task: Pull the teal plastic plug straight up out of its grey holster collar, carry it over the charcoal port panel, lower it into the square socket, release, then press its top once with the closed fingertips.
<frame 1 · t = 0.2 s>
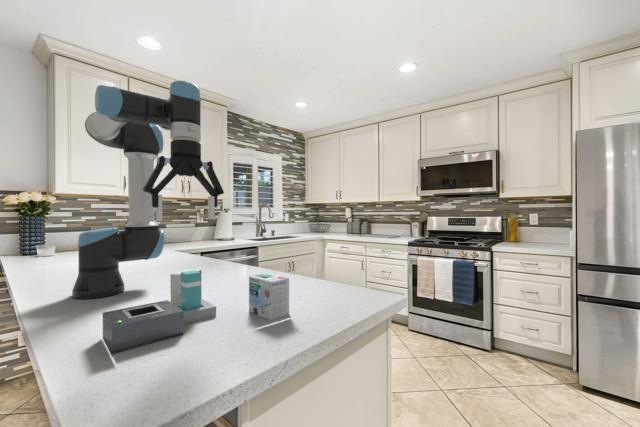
hand: (186, 220, 81), 27 cm above the table, fingers open, 13 cm apart
plug: (191, 315, 83), resting on holster
holster: (191, 317, 83), on the table
small box: (186, 305, 94), on the table
light bulb box: (268, 315, 85), on the table
port panel: (143, 337, 70), on the table
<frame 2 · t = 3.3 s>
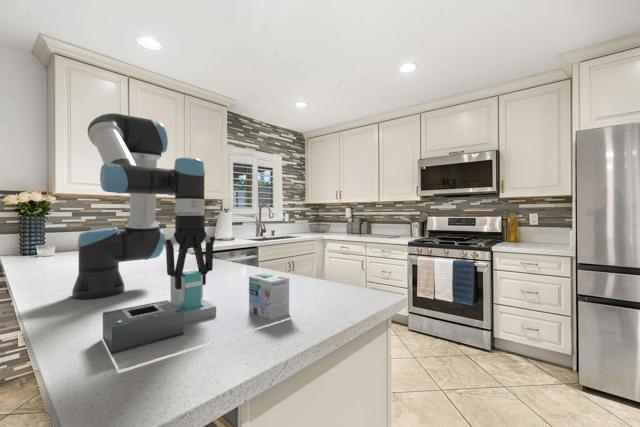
hand: (190, 298, 83), 5 cm above the table, fingers closed on plug, 4 cm apart
plug: (191, 315, 83), point 1 cm above the table, touching gripper, holster
everything else where it was.
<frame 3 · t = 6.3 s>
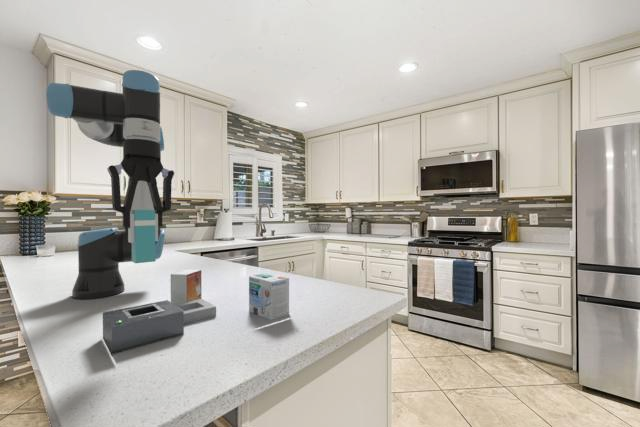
hand: (143, 241, 70), 22 cm above the table, fingers closed on plug, 4 cm apart
plug: (143, 261, 70), point 18 cm above the table, touching gripper
everything else where it was.
when the fingers open (7 cm above the table, at t = 9.3 s): plug stays where it is, resting on port panel.
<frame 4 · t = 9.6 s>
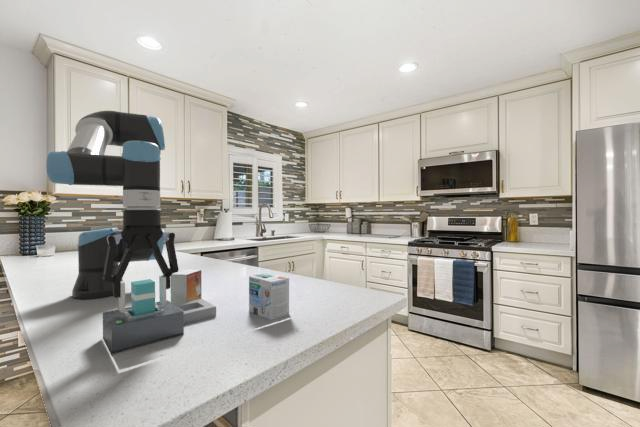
hand: (143, 306, 70), 7 cm above the table, fingers open, 8 cm apart
plug: (143, 333, 70), point 1 cm above the table, touching port panel
everything else where it was.
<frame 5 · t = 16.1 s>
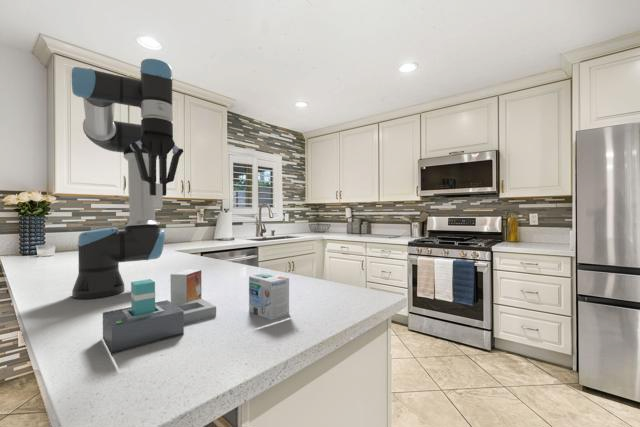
hand: (158, 207, 81), 30 cm above the table, fingers closed
nothing on the table moved.
at the end: plug 0.0 cm off-centre on the port panel, point 1.0 cm above the port panel's base; plug tilted 0°; the gripper is holding nothing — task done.
